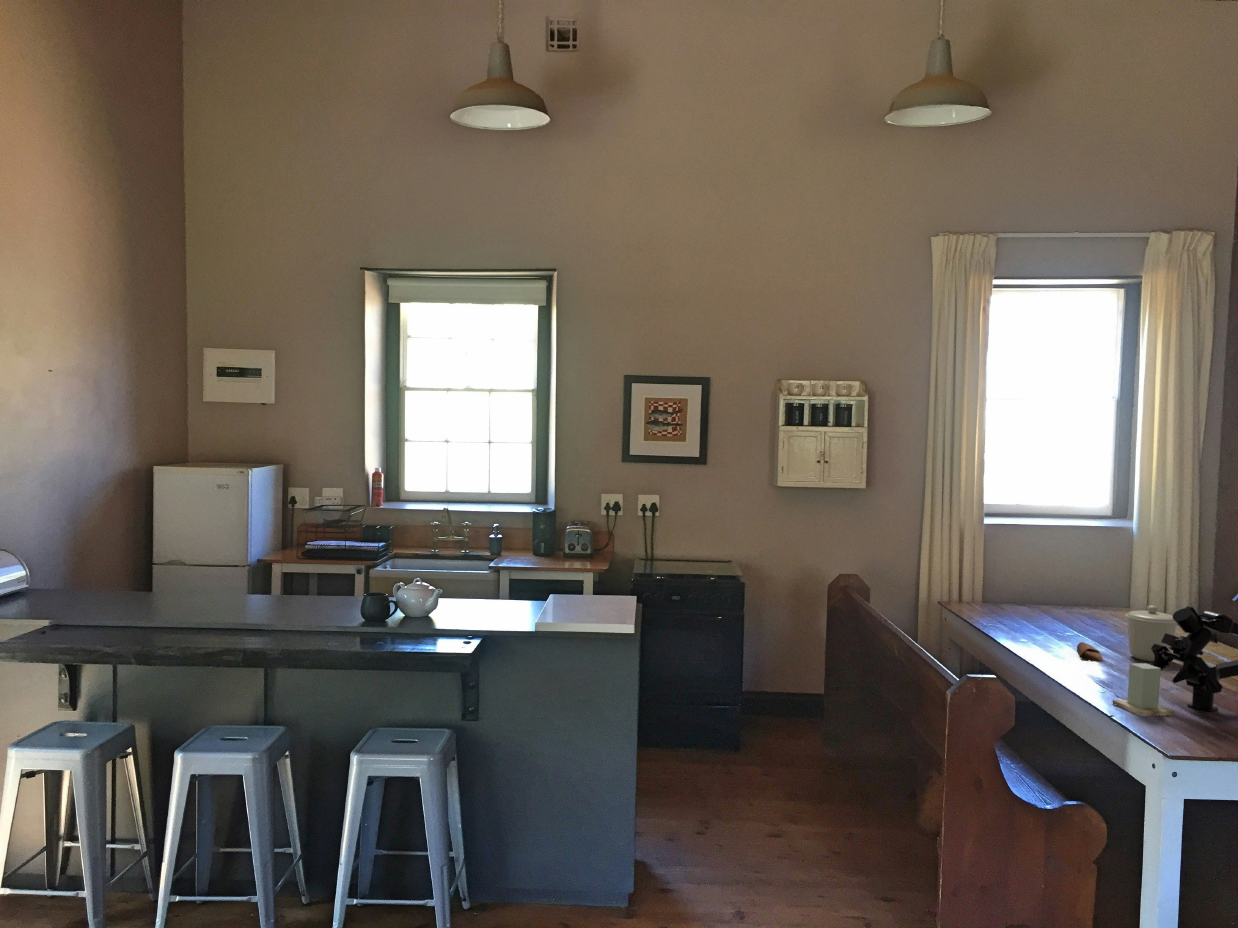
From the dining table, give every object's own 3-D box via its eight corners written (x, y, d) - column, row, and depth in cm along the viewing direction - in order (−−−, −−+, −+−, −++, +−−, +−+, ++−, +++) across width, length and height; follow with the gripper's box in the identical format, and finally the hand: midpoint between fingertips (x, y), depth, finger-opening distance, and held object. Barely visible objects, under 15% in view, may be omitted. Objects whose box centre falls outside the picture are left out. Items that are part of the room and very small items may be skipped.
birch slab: (1145, 705, 288) (1145, 698, 288) (1174, 717, 277) (1174, 710, 276) (1112, 706, 287) (1112, 699, 286) (1139, 718, 275) (1139, 711, 275)
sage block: (1144, 701, 285) (1146, 663, 284) (1158, 707, 279) (1160, 668, 278) (1127, 702, 284) (1129, 663, 283) (1141, 708, 278) (1143, 668, 277)
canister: (1184, 666, 337) (1187, 611, 336) (1132, 662, 341) (1135, 608, 340) (1165, 655, 355) (1168, 602, 354) (1116, 651, 358) (1119, 599, 358)
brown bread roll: (1105, 662, 340) (1096, 646, 341) (1087, 669, 343) (1078, 653, 344) (1100, 651, 357) (1091, 636, 358) (1082, 658, 359) (1073, 643, 360)
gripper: (1157, 618, 292) (1125, 652, 290) (1203, 632, 273) (1169, 668, 272) (1177, 642, 293) (1145, 676, 292) (1224, 656, 275) (1191, 693, 273)
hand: (1162, 677), depth 282 cm, fingers open, 9 cm apart
